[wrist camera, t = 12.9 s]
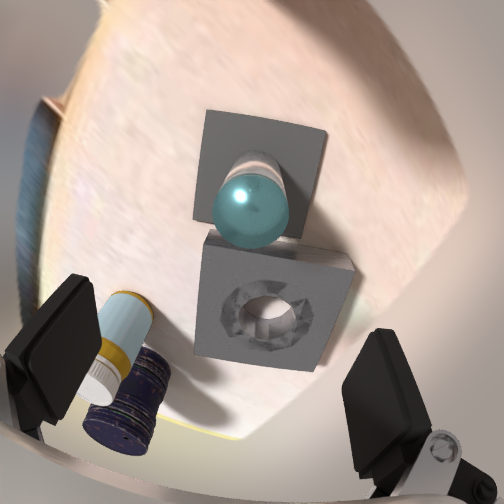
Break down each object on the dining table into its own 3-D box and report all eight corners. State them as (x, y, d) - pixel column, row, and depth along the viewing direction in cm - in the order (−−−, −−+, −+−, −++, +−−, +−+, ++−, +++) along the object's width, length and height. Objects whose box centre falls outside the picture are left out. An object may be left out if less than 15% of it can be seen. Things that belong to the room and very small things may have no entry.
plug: (235, 146, 29) (217, 170, 19) (284, 155, 30) (296, 184, 19) (228, 193, 32) (208, 241, 21) (275, 201, 32) (280, 254, 21)
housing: (210, 228, 34) (203, 244, 31) (347, 253, 35) (355, 270, 31) (199, 334, 41) (193, 354, 38) (310, 351, 42) (313, 372, 38)
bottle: (163, 310, 40) (125, 396, 27) (140, 335, 42) (104, 414, 29) (122, 278, 38) (68, 357, 25) (103, 307, 41) (55, 381, 27)
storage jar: (143, 389, 49) (119, 457, 36) (105, 353, 45) (70, 422, 32) (183, 376, 46) (162, 454, 33) (142, 336, 43) (107, 415, 29)
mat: (207, 109, 28) (206, 109, 28) (325, 130, 29) (325, 131, 28) (193, 217, 34) (192, 219, 33) (300, 236, 34) (300, 238, 34)
